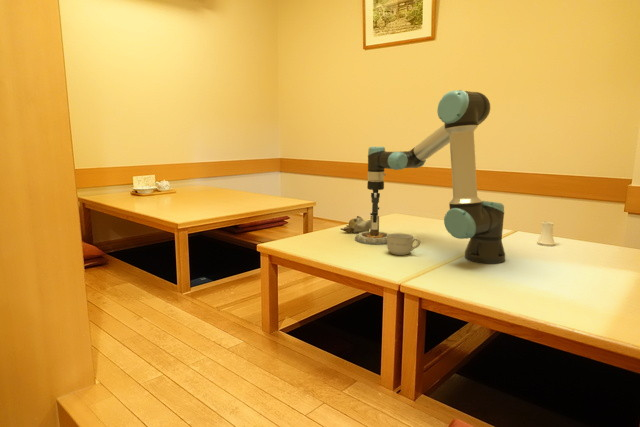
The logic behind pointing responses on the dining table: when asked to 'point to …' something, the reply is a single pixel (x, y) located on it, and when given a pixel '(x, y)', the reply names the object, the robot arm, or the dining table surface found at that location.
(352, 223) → the ceramic sculpture
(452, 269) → the dining table surface
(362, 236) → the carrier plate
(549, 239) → the vase
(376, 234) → the sun gear
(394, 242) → the teacup
